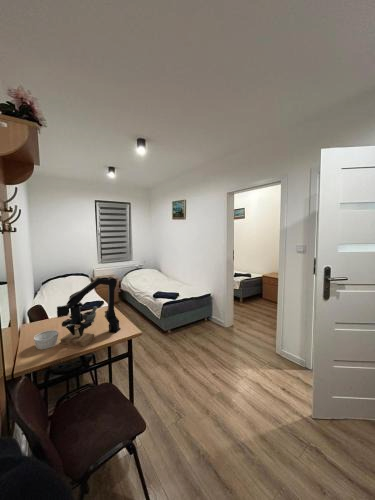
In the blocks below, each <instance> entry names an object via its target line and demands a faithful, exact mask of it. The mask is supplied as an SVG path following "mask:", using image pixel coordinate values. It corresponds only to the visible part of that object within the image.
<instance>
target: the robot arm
mask: <svg viewBox="0 0 375 500" xmlns="http://www.w3.org/2000/svg"><path fill="white" fill-rule="evenodd" d="M117 282H118V281H117V278H115V277H113V276H108V277H105V276H104V277H96V278H95V279H94V280H92V281H91V282H90V283H89V284H88V285H86V286H85V287H84V288H82V289H81V290H79V291H76V292H74V293H72V294H70V296H69V298H68V301H67V302H66V304H64V305H59V306H56V316H57V319H58V318H62V317H68V316H69V315H70V316H69V318H67V319H65V320H63V321H62V322H61V327H64V328H66V329H67V330H68V331H69V333H70V332H71V333H72V335H73V336H74V335H75V329H76V328H75V327H76V326H79V327H78V331H79V334H80V336H82V335H83V333H84V331H85V330H86V329H88V328H89V327H90V326H92V324H93V323H91V321H85V320H84V319H87V316H88V315H86V314H83V313H82V312H81V307H83V306H84V304H83V303H82V300H83V298H84V297H85V296H86V295H87V294H89V293H90V292H92V291H93V290H95V288H97V287H98V286H99V285H104V286H107V290H108V291H107V292H108V293H107V294H108V295H107V310H105V311H104V313H105V314H104V317H105V319H106V321H107V323H108V331H107V332H108V333H114V334H115V333H118V332H119V331H121V327H120V320H119V318H118V316H116V313H115V312H116V311H115V290H116V287H117V285H118V284H117Z"/></svg>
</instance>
